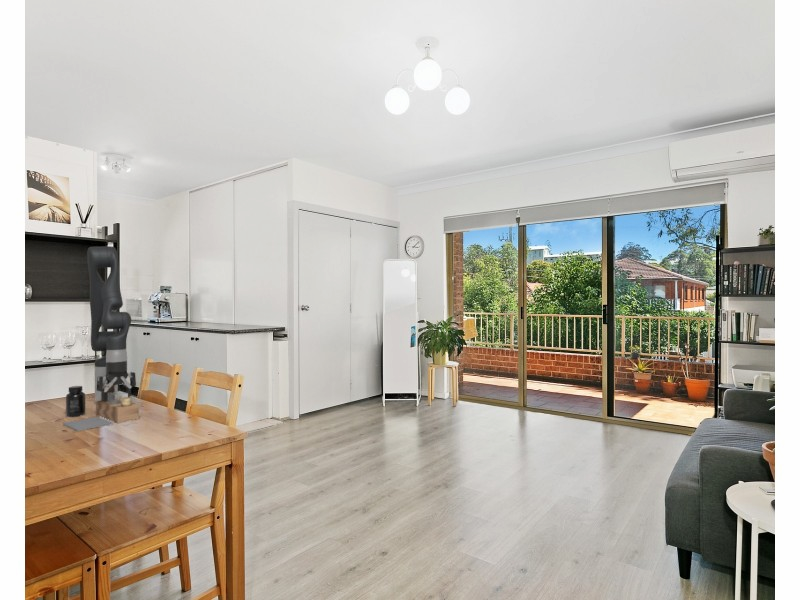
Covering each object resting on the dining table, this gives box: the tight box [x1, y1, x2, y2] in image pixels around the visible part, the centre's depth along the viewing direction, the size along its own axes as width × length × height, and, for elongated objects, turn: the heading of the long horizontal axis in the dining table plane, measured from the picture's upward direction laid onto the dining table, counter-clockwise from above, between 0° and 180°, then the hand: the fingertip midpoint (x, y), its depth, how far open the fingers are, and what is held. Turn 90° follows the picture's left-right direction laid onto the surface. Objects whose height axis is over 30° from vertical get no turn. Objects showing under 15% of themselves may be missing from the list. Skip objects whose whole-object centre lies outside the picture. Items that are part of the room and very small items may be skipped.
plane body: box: [95, 383, 140, 424], centre depth 198 cm, size 20×8×13 cm, turn 54°
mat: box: [62, 416, 114, 432], centre depth 186 cm, size 14×12×1 cm
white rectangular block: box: [106, 390, 128, 405], centre depth 198 cm, size 8×5×4 cm, turn 54°
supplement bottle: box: [65, 385, 86, 418], centre depth 201 cm, size 7×7×12 cm
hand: (116, 399), depth 198 cm, fingers open, 8 cm apart
